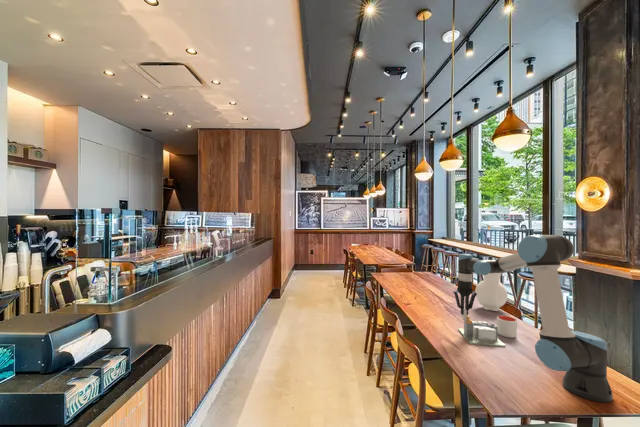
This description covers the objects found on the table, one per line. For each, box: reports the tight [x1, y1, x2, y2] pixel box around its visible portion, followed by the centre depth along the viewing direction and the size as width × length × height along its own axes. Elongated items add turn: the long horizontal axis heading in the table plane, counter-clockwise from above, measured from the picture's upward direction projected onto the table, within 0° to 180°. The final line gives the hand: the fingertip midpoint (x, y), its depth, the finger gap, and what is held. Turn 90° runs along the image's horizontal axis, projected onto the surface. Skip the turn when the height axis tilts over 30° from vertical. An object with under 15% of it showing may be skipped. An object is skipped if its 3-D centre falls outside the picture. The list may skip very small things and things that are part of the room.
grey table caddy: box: [457, 320, 507, 348], centre depth 169 cm, size 20×18×9 cm
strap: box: [473, 322, 493, 328], centre depth 169 cm, size 3×12×1 cm, turn 81°
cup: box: [496, 315, 518, 339], centre depth 174 cm, size 10×10×10 cm
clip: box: [466, 314, 473, 324], centre depth 170 cm, size 4×2×4 cm, turn 171°
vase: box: [474, 273, 508, 312], centre depth 222 cm, size 19×21×30 cm
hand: (464, 320), depth 171 cm, fingers closed
